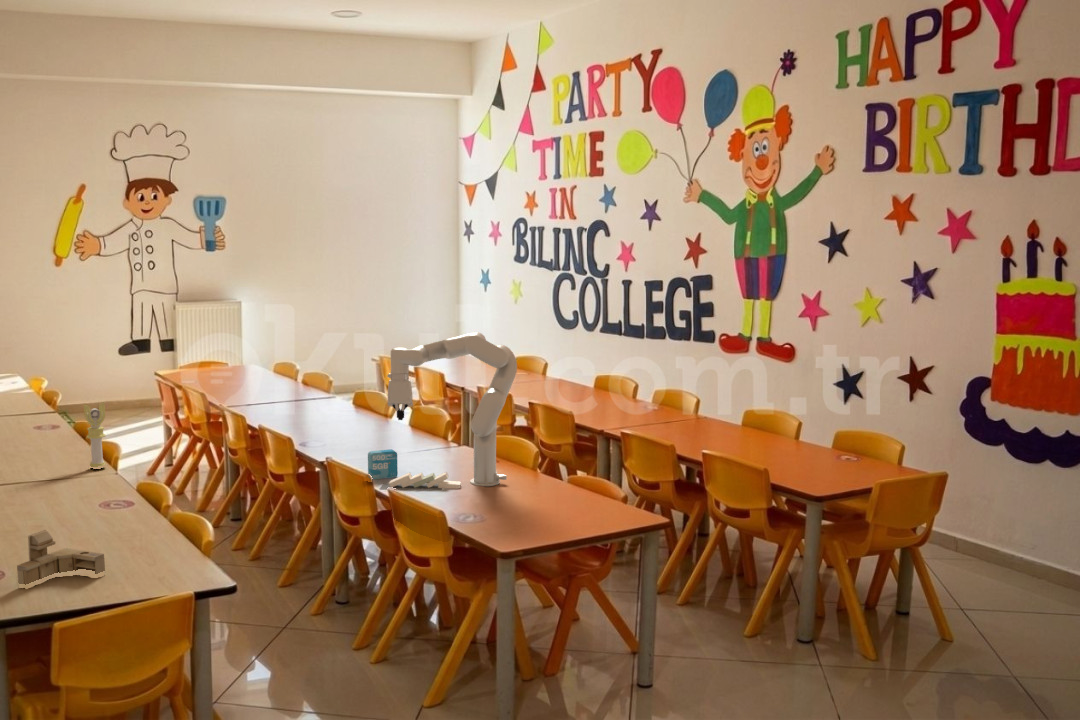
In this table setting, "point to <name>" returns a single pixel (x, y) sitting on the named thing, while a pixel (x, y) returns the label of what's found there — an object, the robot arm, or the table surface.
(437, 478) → the domino
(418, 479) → the domino
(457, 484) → the domino
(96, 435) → the trophy
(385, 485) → the domino mat
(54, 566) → the toy kitchen set
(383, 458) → the data package
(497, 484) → the robot arm
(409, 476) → the domino
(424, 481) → the domino
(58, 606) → the table surface
